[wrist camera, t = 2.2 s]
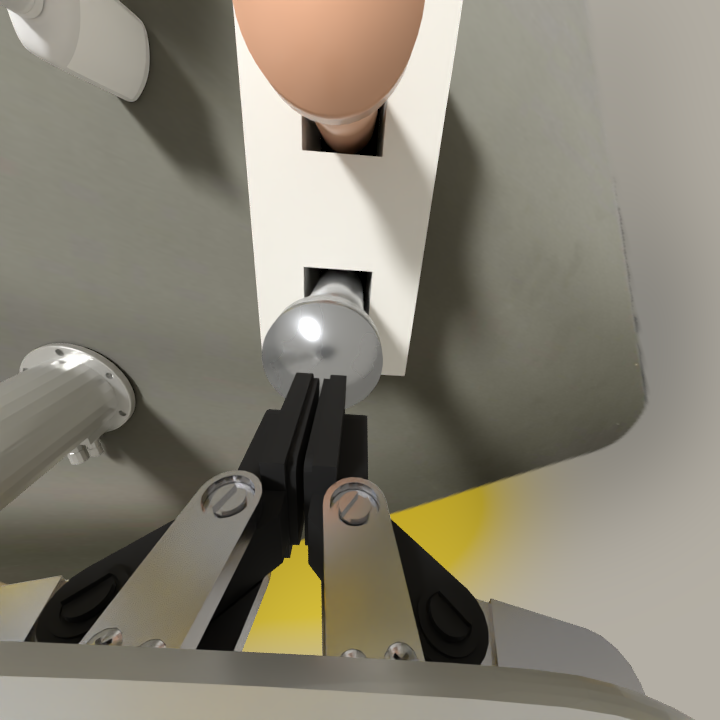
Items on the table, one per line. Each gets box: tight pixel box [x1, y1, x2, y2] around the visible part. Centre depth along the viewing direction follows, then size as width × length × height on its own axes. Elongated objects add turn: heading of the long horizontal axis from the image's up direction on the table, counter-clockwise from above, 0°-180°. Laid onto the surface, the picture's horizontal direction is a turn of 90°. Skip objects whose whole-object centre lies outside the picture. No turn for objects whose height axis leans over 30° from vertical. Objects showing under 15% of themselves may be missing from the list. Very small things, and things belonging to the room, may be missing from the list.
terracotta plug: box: [232, 0, 425, 154], centre depth 15 cm, size 6×6×14 cm
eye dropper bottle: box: [0, 0, 150, 102], centre depth 19 cm, size 4×6×12 cm
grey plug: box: [262, 269, 383, 409], centre depth 20 cm, size 6×6×14 cm
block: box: [233, 0, 463, 376], centre depth 25 cm, size 24×12×10 cm, turn 176°
